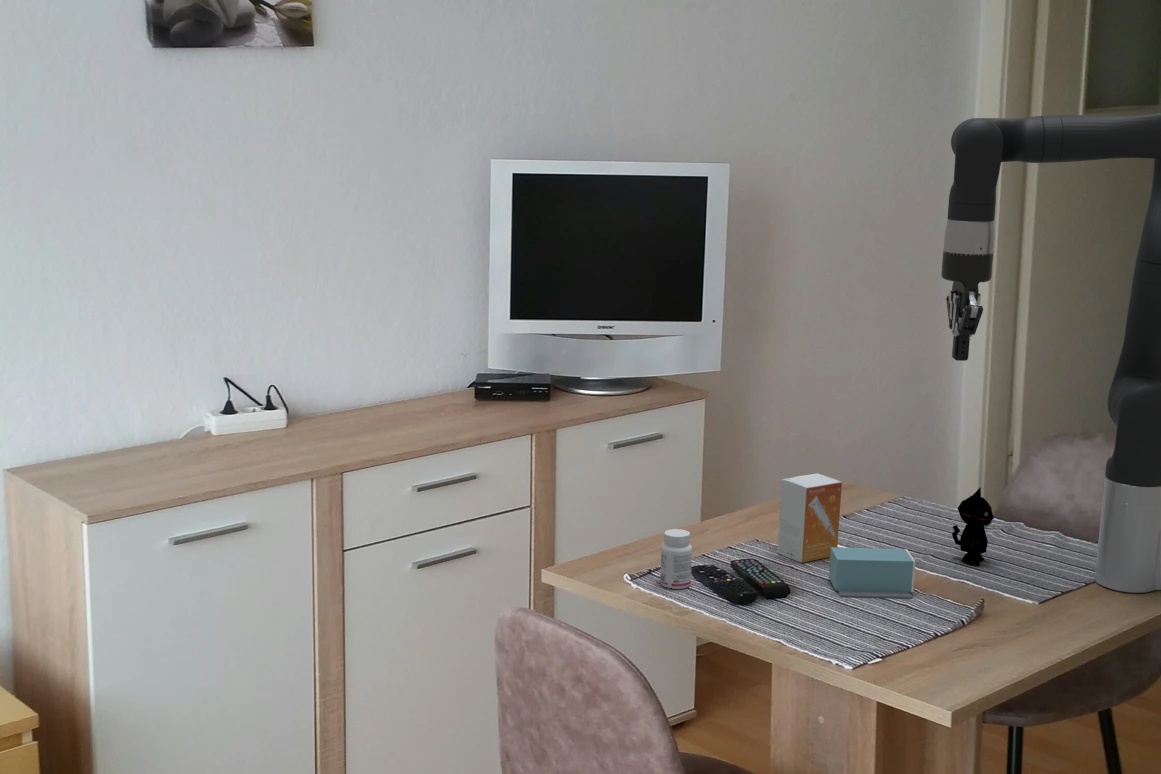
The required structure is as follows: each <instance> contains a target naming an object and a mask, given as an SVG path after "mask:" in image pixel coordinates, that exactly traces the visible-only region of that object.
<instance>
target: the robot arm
mask: <svg viewBox="0 0 1161 774" xmlns="http://www.w3.org/2000/svg"><path fill="white" fill-rule="evenodd" d="M950 146H951V150H952V153H953V154H954V155H955V156H954V169H953V170H954V171H953V183H952V185H951V187H950V189H949V190H950V191H949V195H948V204H947V205H948V207H947V219H946V220H947V221H946V225H945V231H944V235H943V237H944V238H943V249H942V260H941V261H942V262H941V278H942V279H944V280H946V281H950V282H952V286H951V290H949V294H948V295H947V296H946V297H945V300H946V309H947V318H948V327H949V330H951V334H952V336H953V337H952V338H953V339H952V350H951V358H952V359H954V360H955V361H963V362H966V361H967V360H969V355H970V354H969V353H970V341H971V338H972V337H973V336H974V335H976V333H977V329H978V327H979V324H980V320H981V317H982V315H983V312H984V307H983V306H982V305H981V298H982V295H981V293H980V292H979V284H980V283H987V282H990V281H991V279H992V275H993V264H994V263H993V262H994V253H995V252H994V250H995V240H996V236H995V235H996V234H995V232H996V231H995V219H996V218H995V217H996V206H997V205H996V204H997V186H998V180H999V176H1000V171H1001V166H1002V163H1007V162H1008V163H1009V162H1023V163H1030V164H1045V163H1069V162H1071V163H1072V162H1087V161H1096V160H1098V161H1099V160H1112V159H1153V160H1154V161H1153V175H1152V185H1151V192H1150V197H1149V202H1148V206H1147V210H1146V214H1145V217H1144V218H1145V219H1144V223H1143V226H1142V231H1141V235H1140V241H1139V245H1138V249H1137V253H1136V259H1135V264H1134V270H1133V274H1132V275H1133V276H1132V282H1131V289H1130V296H1129V301H1128V308H1127V315H1126V321H1125V328H1124V329H1125V330H1124V337H1123V342H1122V348H1121V351H1120V354H1119V357H1118V362H1117V366H1116V368H1115V372H1114V375H1113V378H1112V382H1111V385H1110V388H1109V391H1108V396H1107V402H1106V403H1107V410H1108V411H1107V412H1108V414H1109V418H1111V420H1112V422H1113V423H1114V424H1115V425H1116V435H1115V443H1114V449H1113V453H1112V455H1111V456H1110V457H1109V458H1108V459H1107V461H1106V465H1105V473H1104V485H1103V492H1102V493H1103V494H1102V501H1101V502H1102V503H1101V513H1100V522H1099V523H1100V524H1099V533H1098V543H1097V553H1096V560H1095V561H1096V562H1095V573H1094V581H1095V582H1096V583H1097V584H1098V585H1100V586H1102V587H1104V588H1108V589H1111V590H1113V591H1118V592H1125V593H1133V594H1134V593H1135V594H1136V593H1137V594H1139V593H1142V594H1143V593H1149V592H1150V593H1151V592H1153V591H1161V112H1157V113H1149V114H1139V115H1138V114H1137V115H1136V114H1135V115H1096V114H1095V115H1091V114H1089V115H1088V114H1061V115H1060V114H1058V115H1056V114H1055V115H1054V114H1053V115H1035V116H1029V117H1028V116H1027V117H1022V118H1008V117H1007V118H1005V117H1004V118H1003V117H996V118H995V117H993V118H992V117H988V118H987V117H973V118H968V119H966V120H963V121H962V122H960V123H959V124H958V125H957V126H956V127H955V129H954V130H953V132H952V135H951V137H950Z"/></svg>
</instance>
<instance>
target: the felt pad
mask: <svg viewBox="0 0 1161 774" xmlns="http://www.w3.org/2000/svg"><path fill="white" fill-rule="evenodd" d="M837 593H838V595H839V598H869V599H870V598H873V599H876V598H877V599H908V600H909V599H913V596H912V593H911V592H879V591H837Z"/></svg>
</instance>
